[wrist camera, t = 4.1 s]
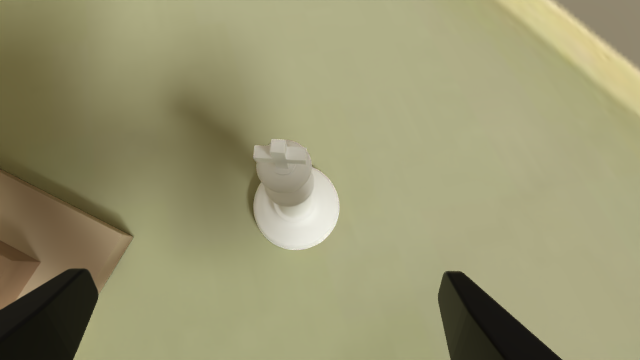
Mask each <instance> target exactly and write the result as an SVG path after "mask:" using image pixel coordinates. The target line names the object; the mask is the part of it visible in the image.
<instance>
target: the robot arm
mask: <svg viewBox="0 0 640 360" xmlns="http://www.w3.org/2000/svg"><path fill="white" fill-rule="evenodd" d="M97 300H98V289H97V287H96V285H95V282H94V280H93V278H92V276H91V273H90V271H89V270H87V269H85V268H71V269H67V270H66V271H64V272H62V273H61V274H59V275H57V276H56V277H54V278H52V279H51V280H49V281H47V282H46V283H44V284H42V285H41V286H39V287H37V288H36V289H34V290H32V291H31V292H29V293H27V294H26V295H24V296H22V297H21V298H19V299H17V300H16V301H14V302H12V303H11V304H9V305H7V306H6V307H4V308H2V309H1V310H0V360H73V358H74V356H75V354H76V352H77V349H78V347H79V345H80V342H81V340H82V337H83V335H84V332H85V330H86V327H87V325H88V322H89V320H90V318H91V315H92V313H93V310H94V308H95V305H96V303H97ZM438 303H439V307H440V312H441V317H442V322H443V326H444V331H445V336H446V340H447V345H448V350H449V354H450V359H451V360H562V359H561V358H560V357H559V356H557V355H556V354H555V353H554V352H553V351H552V350H551V349H549V348H548V347H547V346H546V345H545V344H544V343H543V342H542V341H540V340H539V339H538V338H537V337H536V336H535V335H534V334H532V333H531V332H530V331H529V330H528V329H527V328H526V327H524V326H523V325H522V324H521V323H520V322H519V321H518V320H516V319H515V318H514V317H513V316H512V315H511V314H510V313H508V312H507V311H506V310H505V309H504V308H503V307H502V306H500V305H499V304H498V303H497V302H496V301H495V300H494V299H493V298H491V297H490V296H489V295H488V294H487V293H486V292H485V291H483V290H482V289H481V288H480V287H479V286H478V285H477V284H475V283H474V282H473V281H472V280H471V279H470V278H469V277H467V276H466V275H465V274H464V273H463V272H460V271H446V272H445V273H444V274H443V277H442V281H441V285H440V289H439V293H438Z"/></svg>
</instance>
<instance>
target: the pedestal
mask: <svg viewBox="0 0 640 360" xmlns="http://www.w3.org/2000/svg"><path fill="white" fill-rule="evenodd" d="M132 239H133V236H131V235H129V234H127V233H125V232H123V231H121V230H119V229H117V228H115V227H113V226H111V225H109V224H107V223H105V222H103V221H101V220H99V219H97V218H95V217H93V216H92V215H90V214H88V213H86V212H84V211H82V210H80V209H78V208H76V207H74V206H72V205H70V204H68V203H66V202H64V201H62V200H60V199H58V198H56V197H54V196H52V195H50V194H48V193H46V192H45V191H43V190H41V189H39V188H37V187H35V186H33V185H31V184H29V183H27V182H25V181H23V180H21V179H19V178H17V177H15V176H13V175H11V174H9V173H7V172H5V171H3V170H1V169H0V310H1V309H2V308H4V307H6V306H7V305H9V304H11V303H12V302H14V301H16V300H17V299H19V298H21V297H22V296H24V295H26V294H27V293H29V292H31V291H32V290H34V289H36V288H37V287H39V286H41V285H42V284H44V283H46V282H47V281H49V280H51V279H52V278H54V277H56V276H57V275H59V274H61V273H62V272H64V271H66V270H67V269H71V268H85V269H87V270H89V271H90V273H91V276H92V278H93V280H94V282H95V285H96V287H97V289H98V295H99V293H100V291H101V290H102V288H103V286H104V285H105V283H106V281H107V280H108V278H109V277H110V275H111V273H112V272H113V270H114V268H115V267H116V265H117V263H118V262H119V260H120V258H121V257H122V255H123V254H124V252H125V250H126V249H127V247H128V245H129V244H130V242H131V240H132Z"/></svg>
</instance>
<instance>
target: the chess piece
mask: <svg viewBox="0 0 640 360" xmlns="http://www.w3.org/2000/svg"><path fill="white" fill-rule="evenodd" d="M253 158H254V160H255V162H257V163H256V170H257V175H258V177H259V179H260V181H261V183H260V185H259V186H258V188H257V191H256V193H255V197H254V203H253V210H254V217H255V221H256V224H257V226H258V228H259V230H260V231H261V233H262V234H263V235H264V236H265V237H266V238H267V239H268V240H269V241H270V242H272V243H273V244H275V245H277V246H279V247H282V248H285V249H290V250H302V249H307V248H310V247H313V246H315V245H317V244H319V243H320V242H322V241H323V240H324V239H325V238H326V237H327V236H328V235H329V234H330V233H331V231H332V230H333V228H334V227H335V225H336V222H337V219H338V215H339V199H338V195H337V192H336V190H335V187H334V185H333V184H332V182H331V181H330V180H329V178H328V177H327V176H326V175H325V174H324V173H322V172H321V171H319V170H318V169H316V168H314V167H312V162H311V158H310V155H309V153H308V152H307V149H306V148H304V147H303V146H302V145H301V144H299V143H297V142H295V141H292V140H283V139H271V143H270V144H268V145H267V146H264V145H254V155H253Z"/></svg>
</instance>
